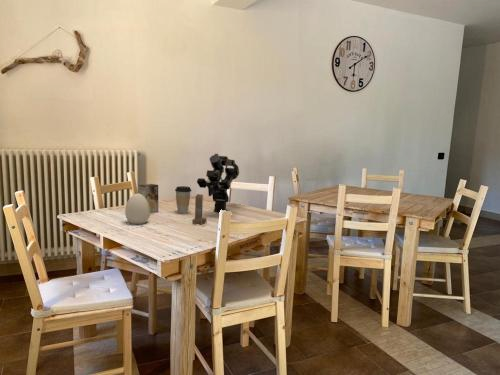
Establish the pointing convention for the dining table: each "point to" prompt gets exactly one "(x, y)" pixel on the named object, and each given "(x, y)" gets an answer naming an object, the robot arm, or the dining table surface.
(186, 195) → the coffee cup
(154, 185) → the coffee box
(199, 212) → the stand
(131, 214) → the decorative egg
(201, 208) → the block
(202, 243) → the dining table surface
